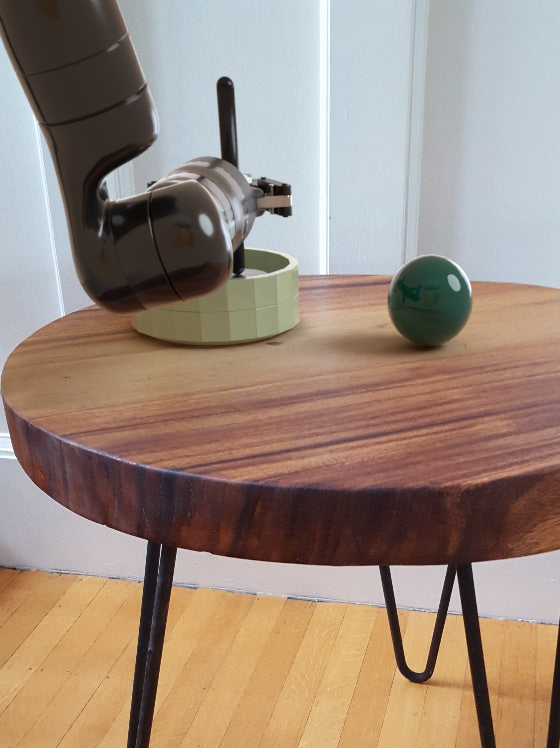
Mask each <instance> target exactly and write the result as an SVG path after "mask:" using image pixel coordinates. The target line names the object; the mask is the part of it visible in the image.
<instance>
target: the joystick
mask: <svg viewBox="0 0 560 748" xmlns="http://www.w3.org/2000/svg"><path fill="white" fill-rule="evenodd" d="M215 86H216V87H215V88H216V89H215V90H216V104H217V116H218V117H217V119H218V132H219V146H220V147H219V148H220V159H223V160H225V161H227V162H229V163H230V164H232V165H233V166H235V167H236V168H237V169H238V170H239V171H240V157H239V156H240V155H239V139H238V123H237V108H236V93H235V83H234V81H233V80H232V78H231V77H229V76H227V75H225V76H224V75H223V76H220V77H219V78H218V79H217V80H216V83H215ZM244 247H245V240H244V241H243V242H242V243H241V245H240V246H239V247H238V248H237V249H236V250H235V251H234V252H233V271H232V275H231V278H242V277H252V276H258V275H263V274H268V273H266V272H264V271H261V270H256V269H245V254H244Z"/></svg>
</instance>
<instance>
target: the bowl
mask: <svg viewBox="0 0 560 748" xmlns="http://www.w3.org/2000/svg"><path fill="white" fill-rule="evenodd" d="M244 254H245V269H256V270H261V271H264V272H266V273H268V274H263V275H258V276H252V277H242V278H230V280H229V282H228V283H227V285H226V286H225V287H223V288H222V289H221V290H219V291H217V292H216V293H214V294H211V295H209V296H206V297H203V298H199V299H195V300H191V301H186V302H182V303H178V304H174V305H170V306H166V307H162V308H158V309H154V310H150V311H146V312H143V313H139V314H134V315H130V316H129V319H130V325H131V326H132V327H133V328H134V329H135V330H136V331H137V332H139V333H141V334H144V335H147V336H150V337H152V338H154V339H157V340H160V341H164V342H167V343H174V344H181V345H190V346H191V345H192V346H230V345H239V344H240V345H241V344H247V343H254V342H259V341H263V340H266V339H270V338H273V337H276V336H278V335H280V334H282V333H283V332H286V331H288V330H291V329H292V328H294V327H295V326H297V324H298V323H300V322H301V311H300V310H301V309H300V307H301V306H300V282H299V281H300V279H299V277H300V276H299V263H298V259H297V258H296V257H294V256H291V255H289V254H288V253H285V252H281V251H278V250H277V251H276V250H272V249H266V248H256V247H247V246H244Z"/></svg>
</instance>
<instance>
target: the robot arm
mask: <svg viewBox="0 0 560 748" xmlns="http://www.w3.org/2000/svg"><path fill="white" fill-rule="evenodd" d="M0 40H1V42H2V44H3V48H4V49H5V52H6V54H7V57H8V59H9V61H10V64H11V66H12V68H13V71H14V73H15V75H16V79H17V80H18V82H19V85H20V87H21V89H22V91H23V93H24V95H25V97H26V100H27V102H28V104H29V107H30V109H31V111H32V114H33V115H34V119H35V120H36V121H37V123H38V126H39V128H40V130H41V133H42V135H43V137H44V141H45V143H46V145H47V148H48V151H49V154H50V158H51V162H52V165H53V168H54V172H55V176H56V181H57V184H58V188H59V192H60V196H61V201H62V206H63V210H64V216H65V222H66V227H67V234H68V239H69V247H70V251H71V257H72V260H73V261H72V262H73V266H74V270H75V273H76V274H75V275H76V277H77V279H78V282H79V284H80V286H81V287H82V289H83V291H84V293H85V294H86V295H87V296H88V298H89V299H90V300H91V301H92V302H93V303H94V304H96V306H98V307H99V308H100V309H102V310H103V311H104V312H106V313H108V314H110V315H112V316H117V317H130V315H134V314H139V313H143V312H146V311H150V310H154V309H158V308H162V307H166V306H170V305H174V304H178V303H182V302H186V301H191V300H195V299H199V298H203V297H206V296H209V295H211V294H214V293H216V292H217V291H219V290H221V289H222V288H223V287H225V286H226V285H227V283H228V282H229V280H230V278H231V275H232V271H233V252H234V251H235V250H236V249H237V248H238V247H239V246H240V245H241V243H242V242H243V241H244V242H245V240H246V239H247V238H248V236H249V235H250V233H251V231H252V229H253V226H254V223H255V220H256V218H260V217H262V216H264V214H265V213H266V212H268V213H269V214H270V215H277V216H279V217H282V218H289V217H292V216H293V194H292V191H293V190H292V184H289V183H287V182H282V181H279V180H274V179H272V178H269V177H268V178H267V177H266V176H260V178H259V177H258V178H253V177H252V174H251V173H242V172H241V170H240V169H239V170H238V169H237V168H236V167H235V166H233V165H232V164H230V163H229V162H227V161H225V160H223V159H221V157H216V156H210V155H209V156H208V155H206V156H204V155H203V156H198V157H194V158H192V159H189V160H188V161H186V162H184V163H182V164H180V165H178V166H177V167H175V168H173V169H170V170H169V171H168V172H167V173H165V174H164V175H163V176H162V177H161V178H160V179H159V180H151V181H150V182H146V188H147V189H146V190H145V191H144V192H142V193H138V194H134V195H130V196H127V197H123V198H119V199H116V200H113V199H112V197H111V195H110V192H109V188H108V182H107V181H108V176H109V175H111V174H112V173H113V172H115V171H116V170H118V169H119V168H120V167H122V166H124V165H127V164H128V163H130V162H131V161H133V160H134V159H137V158H138V157H139V156H141V155H143V154H144V153H146V152H147V151H149V149H151V147H152V146H153V145H154V144H155V143H156V141H157V139H158V137H159V135H160V130H161V123H160V116H159V114H158V109H157V107H156V103H155V100H154V98H153V95H152V92H151V90H150V86H149V85H148V82H147V79H146V76H145V73H144V71H143V68H142V64H141V63H140V59H139V57H138V54H137V51H136V49H135V46H134V43H133V41H132V38H131V35H130V33H129V28H128V26H127V24H126V20H125V19H124V15H123V13H122V10H121V8H120V5H119V2H118V0H0Z"/></svg>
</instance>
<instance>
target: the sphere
mask: <svg viewBox="0 0 560 748" xmlns="http://www.w3.org/2000/svg"><path fill="white" fill-rule="evenodd" d="M473 305H474V296H473V290H472V285H471V282H470V279H469V277H468V275H467V274H466V272H465V271H464V270H463V268H462V267H461V266H460V265H459V264H458V263H456V262H455V261H454V260H452V259H450V258H449V257H446V256H444V255H439V254H421V255H418V256H416V257H414V258H412V259H409V260H408V261H407V262H405V263H404V264H403V265H402V266H400V268H399V269H398V270H397V271H396V272H395V274H394V275H393V277H392V279H391V282H390V284H389V287H388V293H387V312H388V316H389V319H390V322H391V324H392V325H393V327H394V329H395V330H396V331H397V332H398V333H399V334H400V335H401V336H402V337H403V338H404V339H405V340H407V341H409V342H410V343H412V344H415V345H417V346H422V347H437V346H438V347H439V346H441V345H444V344H447V343H449V342H450V341H452V340H453V339H455V338H456V337H457V336H458V335H459V334H461V332H462V331H463V330H464V329H465V327H466V326H467V324H468V322H469V320H470V318H471V315H472V313H473V312H472V311H473Z"/></svg>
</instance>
